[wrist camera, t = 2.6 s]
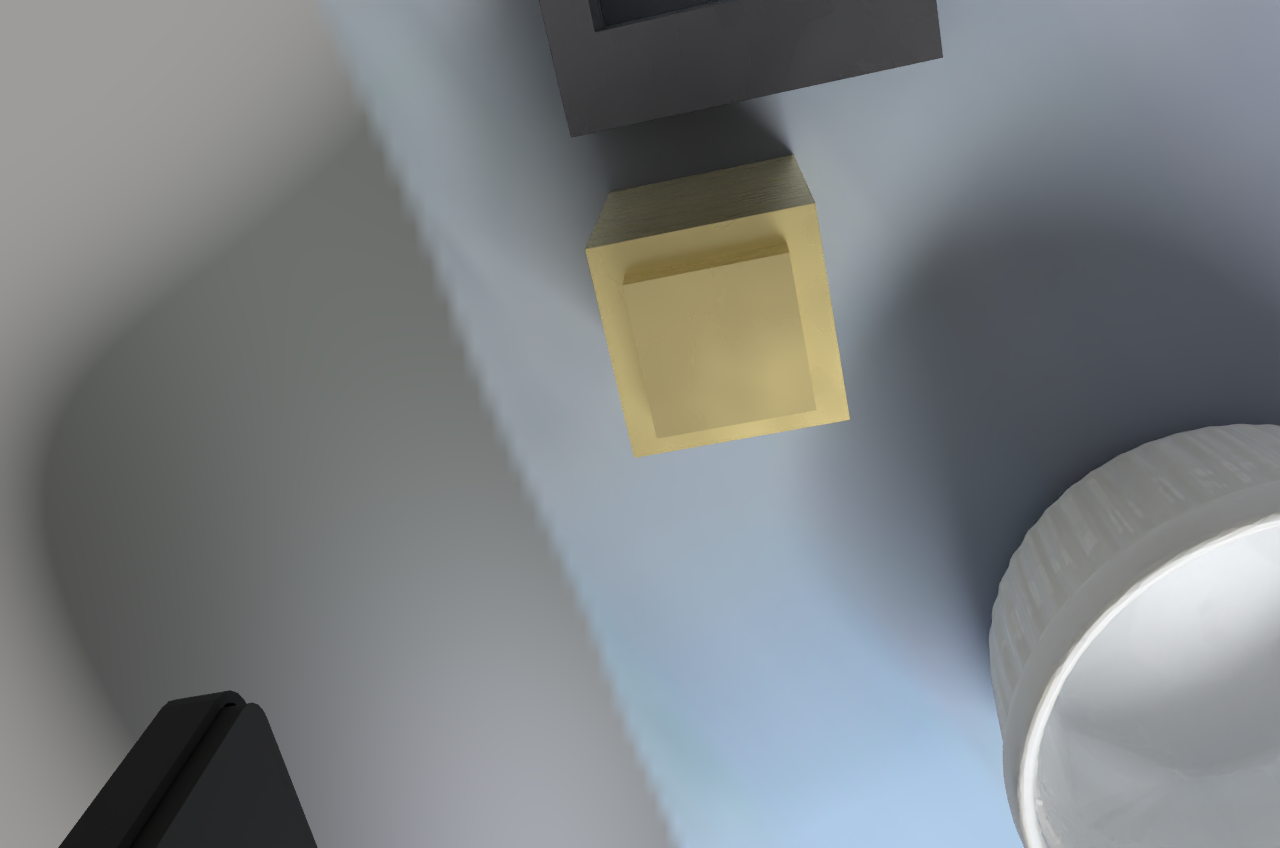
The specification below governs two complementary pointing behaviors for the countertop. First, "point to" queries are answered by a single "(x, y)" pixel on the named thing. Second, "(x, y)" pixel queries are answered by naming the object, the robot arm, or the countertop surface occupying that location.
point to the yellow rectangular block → (717, 307)
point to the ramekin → (1148, 651)
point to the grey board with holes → (724, 53)
